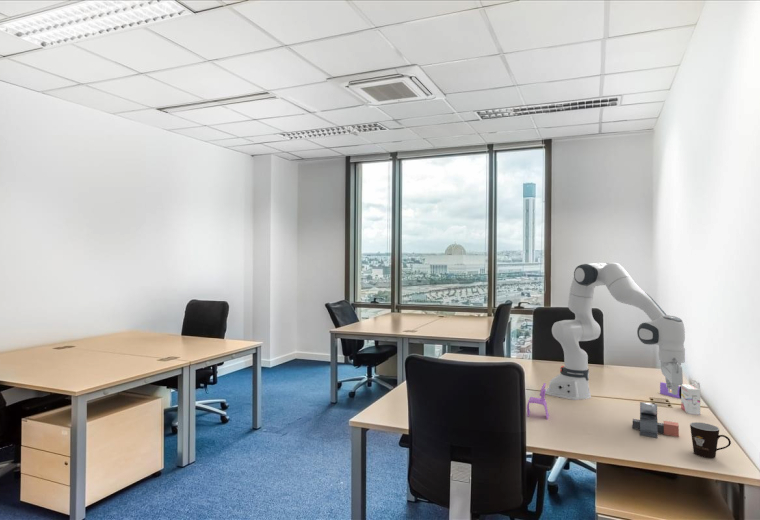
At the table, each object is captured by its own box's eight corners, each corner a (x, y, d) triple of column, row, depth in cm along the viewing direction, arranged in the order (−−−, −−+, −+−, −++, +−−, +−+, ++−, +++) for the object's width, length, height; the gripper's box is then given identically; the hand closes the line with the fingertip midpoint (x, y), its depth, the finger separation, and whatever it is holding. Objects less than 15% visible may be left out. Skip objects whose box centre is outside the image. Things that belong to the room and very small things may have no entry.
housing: (639, 435, 182) (640, 407, 182) (640, 422, 197) (640, 397, 197) (657, 438, 179) (657, 410, 179) (656, 425, 194) (656, 399, 194)
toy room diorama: (681, 401, 229) (681, 387, 229) (657, 395, 240) (657, 381, 240) (694, 397, 235) (694, 384, 235) (670, 392, 246) (670, 379, 246)
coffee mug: (684, 449, 168) (684, 422, 168) (706, 449, 169) (706, 422, 169) (709, 463, 156) (709, 434, 156) (733, 463, 157) (733, 433, 157)
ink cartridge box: (680, 408, 216) (680, 377, 216) (692, 409, 215) (692, 378, 215) (688, 414, 208) (688, 382, 208) (701, 415, 207) (701, 382, 207)
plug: (632, 429, 189) (632, 418, 189) (632, 425, 193) (632, 415, 193) (678, 436, 181) (678, 426, 181) (678, 433, 185) (678, 422, 185)
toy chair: (529, 412, 210) (529, 379, 210) (549, 415, 206) (549, 381, 206) (526, 417, 202) (526, 383, 202) (547, 420, 198) (547, 386, 198)
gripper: (687, 362, 173) (687, 399, 173) (675, 352, 192) (675, 385, 192) (668, 361, 176) (668, 397, 176) (657, 351, 195) (657, 384, 195)
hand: (671, 391), depth 184 cm, fingers open, 8 cm apart
